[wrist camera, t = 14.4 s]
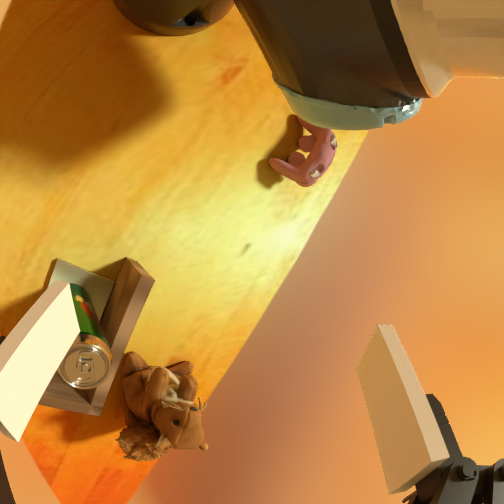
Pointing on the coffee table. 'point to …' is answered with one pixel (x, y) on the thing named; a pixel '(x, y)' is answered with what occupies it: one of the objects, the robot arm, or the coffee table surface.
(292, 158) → the video game controller
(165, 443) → the stuffed squirrel
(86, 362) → the soda can
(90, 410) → the brown wooden angled piece
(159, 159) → the coffee table surface
